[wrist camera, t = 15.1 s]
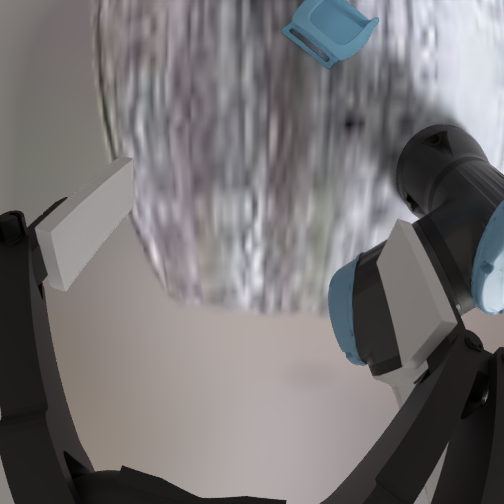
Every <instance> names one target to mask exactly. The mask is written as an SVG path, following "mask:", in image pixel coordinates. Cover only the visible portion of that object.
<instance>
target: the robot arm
mask: <svg viewBox="0 0 504 504" xmlns="http://www.w3.org/2000/svg"><path fill="white" fill-rule="evenodd" d="M133 162H134V158H127V157H121V156H120V157H119V158H117V159H116V160H115V161H113V162H112V163H111V164H109V165H108V166H107V167H105V168H104V169H103V170H101V172H99V173H98V174H96V175H95V176H94V177H93V178H91V179H90V180H89V181H88V182H86V183H85V184H84V185H83V186H81V187H80V188H79V189H78V190H77V191H76V192H74V193H73V194H72V195H71V196H70V197H65V198H63V199H61V200H59V201H57V202H55V203H54V204H53V205H52V206H51V207H50V208H49V209H47V210H46V211H45V212H44V213H43V215H41V216H39V217H38V218H37V219H36V220H35V221H34V222H33V223H32V224H31V225H30V226H29V227H27V226H26V222H25V217H24V214H23V213H22V212H21V211H16V210H15V211H9V212H6V213H4V214H2V215H0V408H1V416H2V417H1V420H0V456H1V460H2V463H3V467H4V471H5V475H6V478H7V482H8V485H9V488H10V491H11V494H12V497H13V500H14V503H15V504H286V500H277V499H267V498H257V497H249V496H241V497H226V498H201V497H198V496H195V495H193V494H191V493H189V492H187V491H185V490H183V489H181V488H179V487H177V486H175V485H173V484H171V483H169V482H168V481H166V480H164V479H162V478H159V477H156V476H153V475H149V474H146V473H143V472H140V471H137V470H134V469H131V468H128V467H125V466H122V468H121V470H120V471H116V470H115V471H114V470H105V471H97V472H95V471H94V468H93V466H92V464H91V462H90V460H89V458H88V456H87V454H86V452H85V450H84V449H83V447H82V445H81V443H80V441H79V438H78V435H77V432H76V430H75V426H74V424H73V420H72V417H71V414H70V411H69V408H68V404H67V401H66V397H65V394H64V390H63V386H62V383H61V379H60V375H59V371H58V367H57V362H56V358H55V352H54V348H53V343H52V337H51V332H50V326H49V320H48V313H47V306H46V299H45V291H44V286H43V283H42V281H43V280H44V279H45V278H46V276H48V279H49V282H50V285H51V287H53V288H56V289H59V290H61V291H64V292H66V291H67V289H68V288H69V287H70V285H71V284H72V282H73V281H74V280H75V278H76V277H77V276H78V274H79V273H80V272H81V270H82V269H83V268H84V266H85V265H86V264H87V263H88V261H89V260H90V259H91V257H92V256H93V255H94V254H95V252H96V251H97V250H98V249H99V247H100V246H101V245H102V244H103V242H104V241H105V239H107V237H108V236H109V235H110V234H111V232H112V231H113V230H114V229H115V227H116V226H117V225H118V224H119V223H120V222H121V221H122V220H123V218H124V217H125V216H126V215H127V214H128V213H129V211H130V210H131V209H132V208H133ZM396 177H397V186H398V190H399V193H400V195H401V197H402V199H403V200H404V202H405V204H406V205H407V207H408V208H409V210H410V211H411V212H412V213H413V214H414V215H415V216H417V217H418V218H419V220H417V221H416V222H414V223H413V224H411V223H409V222H406V221H403V220H399V219H397V221H396V223H395V226H394V228H393V230H392V232H391V234H390V236H389V238H388V239H387V240H385V241H384V242H382V243H380V244H379V245H377V246H375V247H374V248H372V249H370V250H369V251H367V252H365V253H364V252H362V253H360V254H359V255H358V256H357V257H356V259H354V260H353V261H351V262H350V263H348V264H347V265H345V266H343V267H342V268H340V269H339V270H338V271H337V272H336V273H335V274H334V276H333V277H332V279H331V282H330V285H329V292H328V306H329V313H330V319H331V323H332V327H333V330H334V333H335V336H336V339H337V341H338V344H339V346H340V348H341V350H342V351H343V352H345V353H346V358H347V359H348V360H349V361H350V362H351V363H353V364H355V365H362V366H364V365H367V364H368V365H369V368H370V371H371V373H372V376H373V378H374V379H376V380H379V381H381V382H384V383H387V384H389V385H390V386H391V387H392V390H393V393H394V395H395V398H396V401H397V404H398V406H399V409H400V410H399V412H398V413H397V415H396V416H395V418H394V419H393V420H392V422H391V423H390V425H389V426H388V427H387V429H386V430H385V431H384V433H383V434H382V436H381V437H380V438H379V439H378V441H377V442H376V443H375V445H374V446H373V447H372V448H371V450H370V451H369V452H368V453H367V455H366V456H365V457H364V458H363V460H362V461H361V462H360V463H359V464H358V466H357V467H356V468H355V469H354V470H353V471H352V472H351V474H350V475H349V476H348V477H347V478H346V479H345V480H344V482H343V483H342V484H341V485H340V486H339V487H338V488H337V489H336V490H335V491H334V492H333V493H332V494H331V495H330V496H329V497H328V498H327V499H325V500H324V501H323V502H321V503H320V504H414V502H415V500H416V498H417V497H418V495H419V494H420V492H421V490H422V489H423V487H425V490H426V494H427V498H428V502H429V504H504V347H499V348H498V349H497V351H496V352H495V353H494V354H492V353H489V352H488V351H486V350H484V348H483V344H482V342H481V340H480V339H479V337H478V336H477V335H476V334H475V333H473V332H471V331H470V330H466V329H465V326H464V324H463V321H462V319H461V316H462V315H463V313H464V314H465V313H467V312H468V311H470V310H471V309H473V308H475V307H478V308H479V309H480V310H482V311H483V312H485V313H487V314H490V315H496V314H497V313H498V312H499V313H500V314H503V313H504V175H503V174H502V173H501V172H499V171H498V170H497V169H496V168H494V167H493V166H492V165H490V163H489V161H488V159H487V157H486V155H485V154H484V152H483V150H482V148H481V146H480V145H479V144H478V143H477V141H476V140H475V139H474V138H473V137H472V136H470V135H469V134H467V133H466V132H464V131H463V130H461V129H459V128H457V127H454V126H450V125H435V126H431V127H428V128H426V129H424V130H422V131H420V132H419V133H417V134H416V135H415V136H414V137H413V138H412V139H411V140H410V141H409V142H408V143H407V145H406V146H405V148H404V149H403V151H402V153H401V156H400V158H399V161H398V166H397V174H396ZM485 398H487V399H486V401H485Z"/></svg>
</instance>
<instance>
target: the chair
mask: <svg viewBox="0 0 504 504" xmlns="http://www.w3.org/2000/svg"><path fill="white" fill-rule="evenodd" d="M378 22H379V18H374V19H372V20H368V19H367V18H366V17H365V16H363V15H362V14H361V13H360V12H359V11H357V10H356V9H355V8H354V7H353V6H352V5H350V4H349V3H348V2H347V1H346V0H305V1H304V2H303V3H302V4H301V5H300V6H299V7H298V9H297V10H296V11H295V13H294V15H293V17H292V21H291V22H290V23H289V24H288V25H287V26H285V27H284V28H283V29H282V30H281V31H282V33H283V34H284V35H286V36H287V37H288V38H290V39H291V40H292V41H294V42H295V43H296V44H297V45H299V46H300V47H301V48H303V49H304V50H305V51H306V52H308V53H309V54H310V55H311V56H312V57H314V58H315V59H316V60H317V61H318V62H320V63H321V64H322V65H323V66H324V67H325V68H327V69H330V68H331V67H332V66H333V64H334V62H335V63H336V62H337V61H338V60H345V59H347V58H349V57H350V56H352V55H353V54H355V53H356V52H357V51H358V50H359V49H360V48H362V47H363V45H364V44H365V43H366V42H367V40H368V39H369V37H370V36H371V34H372V32H373V30H374V28H375V27H376V25H377V24H378ZM291 29H295V30H296V31H297V32H299V33H300V34H301V35H303V36H304V37H305V38H306V39H308V40H309V41H310V42H311V43H313V44H314V45H315V46H316V47H317V48H319V49H320V50H321V51H322V52H323V53H324V54H326V55H327V56H328V57H329V60H328V62H325V61H324V60H323V59H322V58H321V57H319V56H318V55H317V54H316V53H315V52H314V51H312V50H311V49H310V48H309V47H308V46H307V45H305V44H304V43H303V42H302V41H300V40H299V39H298V38H297V37H295V36H294V35H293V34H292V33H290V30H291Z"/></svg>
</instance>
